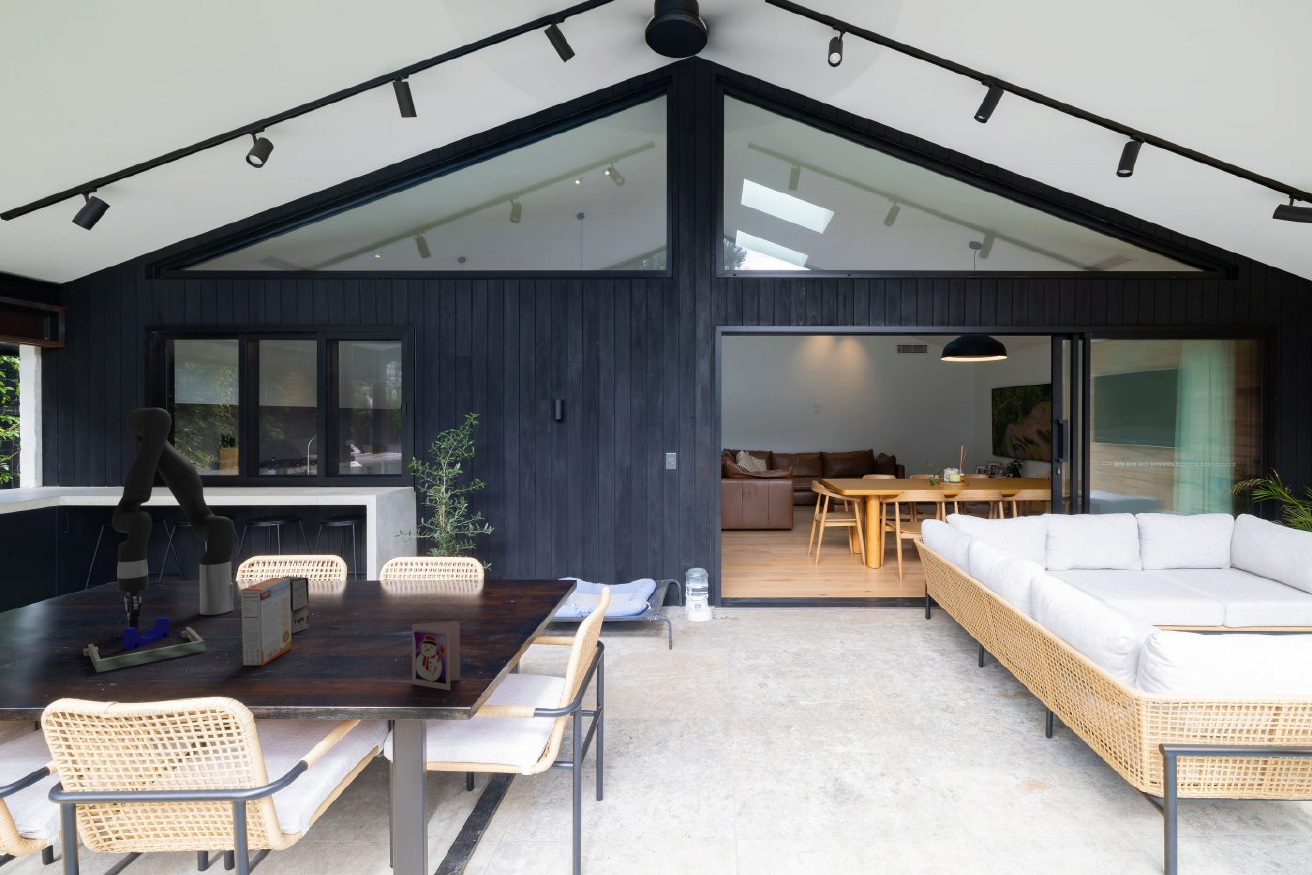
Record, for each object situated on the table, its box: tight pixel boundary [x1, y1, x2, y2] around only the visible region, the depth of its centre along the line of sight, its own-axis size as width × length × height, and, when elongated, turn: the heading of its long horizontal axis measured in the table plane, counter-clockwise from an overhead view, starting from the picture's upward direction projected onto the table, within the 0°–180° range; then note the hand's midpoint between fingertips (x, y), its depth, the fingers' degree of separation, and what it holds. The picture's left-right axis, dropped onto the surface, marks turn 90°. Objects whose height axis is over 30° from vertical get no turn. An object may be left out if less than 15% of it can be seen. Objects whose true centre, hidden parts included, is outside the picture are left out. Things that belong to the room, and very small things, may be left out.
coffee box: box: [281, 575, 310, 634], centre depth 214 cm, size 9×6×16 cm
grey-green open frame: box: [82, 626, 206, 673], centre depth 193 cm, size 26×22×3 cm
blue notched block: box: [122, 616, 170, 650], centre depth 201 cm, size 12×4×6 cm, turn 170°
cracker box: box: [240, 577, 292, 667], centre depth 188 cm, size 14×6×21 cm, turn 178°
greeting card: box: [411, 620, 461, 691], centre depth 169 cm, size 11×7×15 cm, turn 69°
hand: (133, 630), depth 210 cm, fingers closed
